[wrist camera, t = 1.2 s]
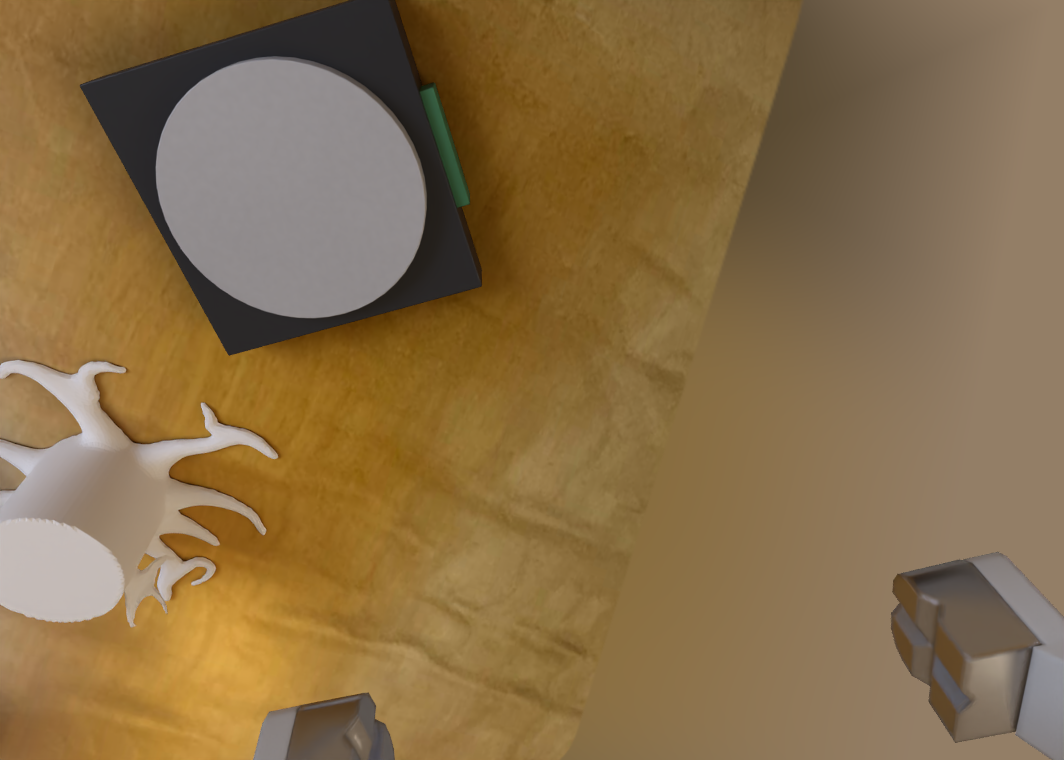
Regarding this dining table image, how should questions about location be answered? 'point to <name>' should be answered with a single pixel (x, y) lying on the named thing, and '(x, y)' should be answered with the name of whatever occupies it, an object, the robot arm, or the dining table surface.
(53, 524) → the tree stump
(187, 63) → the kitchen scale
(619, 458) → the dining table surface
